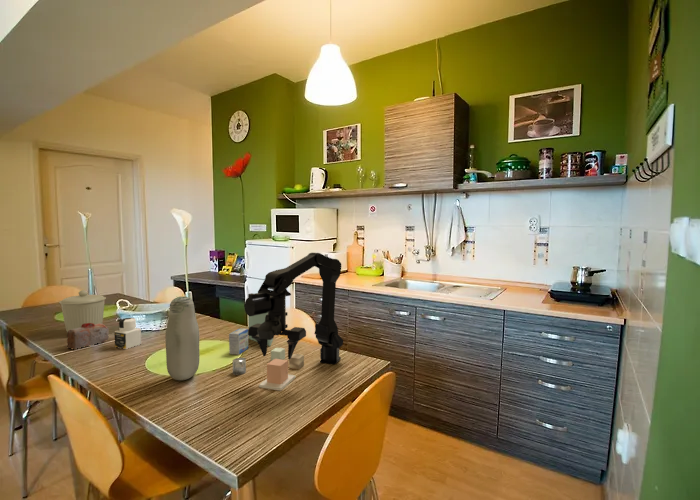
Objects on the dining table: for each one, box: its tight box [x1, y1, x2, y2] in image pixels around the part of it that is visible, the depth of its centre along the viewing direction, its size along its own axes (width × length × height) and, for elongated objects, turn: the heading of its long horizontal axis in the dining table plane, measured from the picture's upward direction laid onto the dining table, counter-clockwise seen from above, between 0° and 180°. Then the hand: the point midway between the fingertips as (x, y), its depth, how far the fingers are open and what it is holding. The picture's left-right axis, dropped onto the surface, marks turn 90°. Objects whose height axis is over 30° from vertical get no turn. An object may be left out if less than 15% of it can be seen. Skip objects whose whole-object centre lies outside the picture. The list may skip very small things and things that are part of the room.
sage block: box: [270, 347, 286, 362], centre depth 132 cm, size 4×4×4 cm
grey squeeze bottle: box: [164, 296, 200, 381], centre depth 114 cm, size 10×10×28 cm
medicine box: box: [228, 328, 249, 356], centre depth 141 cm, size 8×4×9 cm, turn 168°
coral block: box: [266, 359, 289, 384], centre depth 112 cm, size 5×5×6 cm
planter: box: [247, 313, 274, 347], centre depth 155 cm, size 16×8×20 cm, turn 49°
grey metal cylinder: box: [232, 357, 247, 376], centre depth 120 cm, size 4×4×4 cm
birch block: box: [288, 353, 305, 370], centre depth 125 cm, size 4×4×4 cm
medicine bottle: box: [114, 317, 142, 350], centre depth 147 cm, size 7×7×12 cm
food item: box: [66, 322, 110, 350], centre depth 148 cm, size 14×8×10 cm, turn 156°
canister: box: [58, 289, 107, 334], centre depth 166 cm, size 18×18×21 cm
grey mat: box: [258, 373, 296, 391], centre depth 112 cm, size 8×10×1 cm
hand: (277, 357), depth 112 cm, fingers open, 9 cm apart
